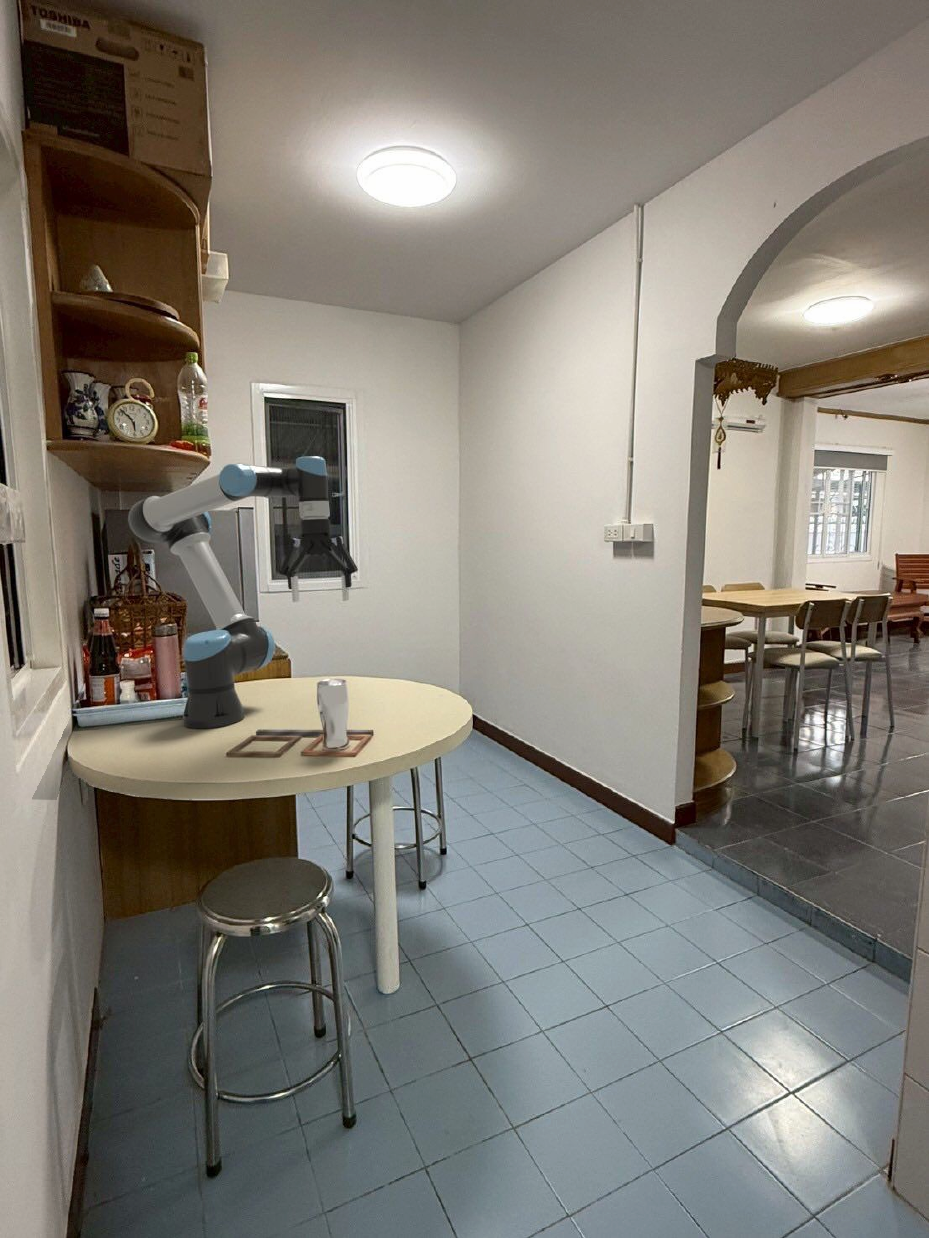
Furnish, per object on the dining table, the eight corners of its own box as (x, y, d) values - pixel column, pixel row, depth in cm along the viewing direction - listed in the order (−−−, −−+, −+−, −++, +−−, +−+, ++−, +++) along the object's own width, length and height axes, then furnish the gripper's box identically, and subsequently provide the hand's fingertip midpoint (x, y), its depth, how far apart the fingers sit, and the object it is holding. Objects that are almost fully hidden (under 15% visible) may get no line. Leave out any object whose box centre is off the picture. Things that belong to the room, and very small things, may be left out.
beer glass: (336, 739, 154) (332, 677, 152) (358, 744, 150) (353, 680, 148) (314, 748, 148) (309, 683, 146) (335, 753, 144) (330, 687, 142)
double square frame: (226, 756, 145) (225, 751, 145) (258, 734, 161) (257, 729, 161) (354, 757, 141) (353, 752, 141) (374, 734, 157) (374, 729, 156)
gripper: (262, 520, 166) (269, 603, 169) (357, 516, 163) (362, 601, 165) (275, 520, 174) (281, 600, 176) (366, 516, 170) (371, 598, 173)
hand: (320, 601), depth 171 cm, fingers open, 13 cm apart
